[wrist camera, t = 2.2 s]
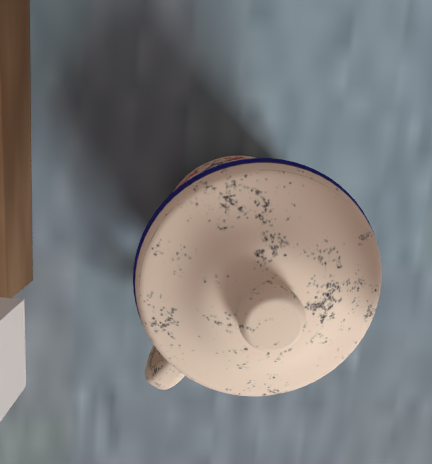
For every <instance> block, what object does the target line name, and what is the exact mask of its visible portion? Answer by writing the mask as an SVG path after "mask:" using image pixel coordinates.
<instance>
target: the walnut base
mask: <svg viewBox="0 0 432 464" xmlns="http://www.w3.org/2000/svg"><path fill="white" fill-rule="evenodd" d="M32 280H33V271H32V180H31V89H30V0H0V297H3V298H12V297H13V296H15V295H16V294H17V293H18V292H19V291H21V290H22V289H23V288H24V287H25V286H27V285H28V284H29V283H30V282H31V281H32Z"/></svg>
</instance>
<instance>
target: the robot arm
mask: <svg viewBox="0 0 432 464" xmlns="http://www.w3.org/2000/svg"><path fill="white" fill-rule="evenodd" d="M25 387H26V361H25V312H24V299H14V298H3V297H0V421H1V420H2V419H3V417H4V416H5V414H6V413H7V412H8V410H9V409H10V408H11V406H12V405H13V403H14V402H15V401H16V399H17V398H18V396H19V395H20V394H21V392H22V391H23V390H24V388H25Z"/></svg>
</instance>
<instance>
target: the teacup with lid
mask: <svg viewBox="0 0 432 464" xmlns="http://www.w3.org/2000/svg"><path fill="white" fill-rule="evenodd" d="M133 286H134V296H135V302H136V306H137V310H138V313H139V316H140V319H141V321H142V324H143V326H144V328H145V330H146V332H147V334H148V336H149V338H150V340H151V341H152V343H153V344H154V345H153V347H152V350H151V352H150V355H149V358H148V361H147V364H146V369H145V377H146V379H147V381H148V382H149V383H150V384H152V385H153V386H155V387H157V388H159V389H162V390H164V389H169V388H171V387H173V386H174V385H176V384H177V383H178V382H179V381H180V380H181V379H182V378H183V377H184V376H187V377H188V378H190V379H192V380H194V381H195V382H197V383H199V384H201V385H203V386H206V387H208V388H211V389H214V390H217V391H220V392H224V393H228V394H234V395H241V396H266V395H274V394H280V393H285V392H288V391H292V390H295V389H298V388H300V387H303V386H306V385H308V384H310V383H312V382H314V381H316V380H318V379H319V378H321V377H323V376H325V375H326V374H327V373H329V372H330V371H332V370H333V369H334V368H336V367H337V366H338V365H339V364H340V363H342V362H343V361H344V360H345V359H346V358H347V357H348V356H349V355H350V354H351V352H352V351H353V350H354V349H355V348H356V346H357V345H358V344H359V342H360V341H361V339H362V338H363V336H364V335H365V333H366V331H367V329H368V327H369V325H370V323H371V321H372V319H373V316H374V313H375V310H376V307H377V304H378V300H379V295H380V288H381V259H380V254H379V249H378V245H377V242H376V239H375V236H374V233H373V230H372V228H371V226H370V223H369V221H368V219H367V218H366V216H365V214H364V212H363V211H362V209H361V208H360V207H359V205H358V204H357V202H356V201H355V200H354V199H353V198H352V197H351V196H350V195H349V193H348V192H346V191H345V190H344V189H343V188H342V187H341V186H340V185H339V184H337V183H336V182H334V181H333V180H332V179H330V178H329V177H327V176H325V175H324V174H322V173H320V172H318V171H316V170H314V169H312V168H310V167H307V166H304V165H301V164H298V163H295V162H291V161H286V160H281V159H272V158H255V157H250V156H227V157H222V158H218V159H214V160H211V161H209V162H207V163H204V164H203V165H201V166H199V167H197V168H196V169H194V170H193V171H192V172H190V173H189V174H188V175H187V176H186V177H185V178H184V179H183V180H182V181H181V182H180V183H179V184H178V186H177V187H176V188H175V190H174V191H173V193H172V194H171V195H170V196H169V197H168V198H167V199H166V200H165V201H164V202H163V203H162V204H161V205H160V207H159V208H158V209H157V210H156V212H155V213H154V215H153V216H152V218H151V219H150V221H149V223H148V225H147V227H146V229H145V230H144V232H143V235H142V237H141V240H140V243H139V246H138V249H137V253H136V257H135V263H134V273H133Z"/></svg>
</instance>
